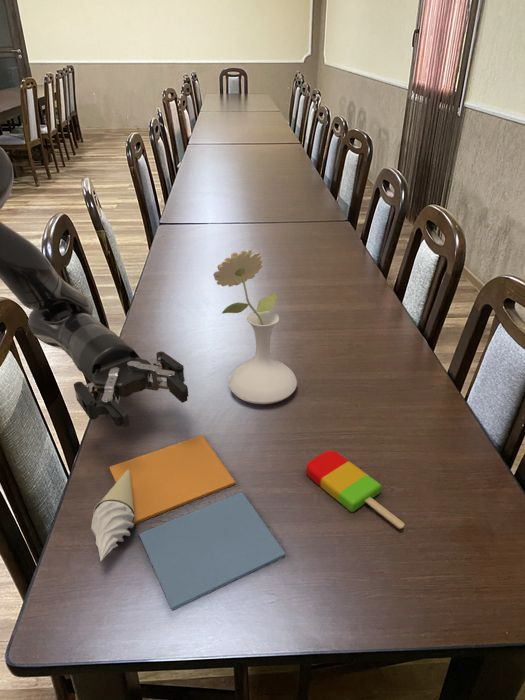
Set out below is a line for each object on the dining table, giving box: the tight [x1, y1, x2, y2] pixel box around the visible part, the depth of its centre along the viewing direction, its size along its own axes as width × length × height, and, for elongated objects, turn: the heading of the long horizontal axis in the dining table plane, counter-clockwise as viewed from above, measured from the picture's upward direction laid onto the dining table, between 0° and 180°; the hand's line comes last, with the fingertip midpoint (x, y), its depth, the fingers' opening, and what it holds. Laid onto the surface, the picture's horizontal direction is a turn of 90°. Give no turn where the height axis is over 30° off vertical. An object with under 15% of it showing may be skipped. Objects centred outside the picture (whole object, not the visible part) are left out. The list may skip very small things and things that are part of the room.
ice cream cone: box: [90, 470, 135, 562], centre depth 65 cm, size 5×5×15 cm
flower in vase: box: [213, 249, 298, 405], centre depth 84 cm, size 13×11×25 cm
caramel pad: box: [109, 434, 236, 525], centre depth 73 cm, size 14×11×1 cm
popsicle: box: [306, 449, 405, 530], centre depth 70 cm, size 6×15×2 cm, turn 39°
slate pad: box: [138, 491, 286, 611], centre depth 63 cm, size 14×11×1 cm
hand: (156, 408), depth 69 cm, fingers open, 8 cm apart
